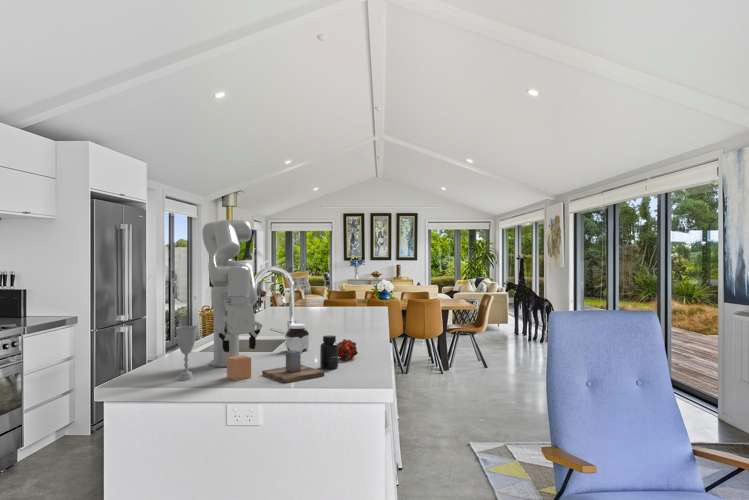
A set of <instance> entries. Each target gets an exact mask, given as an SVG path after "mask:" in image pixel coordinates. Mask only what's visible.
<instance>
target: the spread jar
mask: <svg viewBox="0 0 749 500" xmlns="http://www.w3.org/2000/svg"><path fill="white" fill-rule="evenodd" d="M308 331H309V330H307V329H306V324H305V323H291V324H289V329H288V330H287V331H286V334H285V347H286V349H287V350H288V351H293V350H296V351H300V352H301V353H304V352H306V351H307V350H308V349H309V346H310V333H309V332H308Z"/></svg>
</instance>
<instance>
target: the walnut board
mask: <svg viewBox="0 0 749 500" xmlns="http://www.w3.org/2000/svg"><path fill="white" fill-rule="evenodd" d="M261 372H262V373H261V374H263V375H262V376H264V375H265V377H267V376H268V377H267V378H269V377H270V379H272V378H273V379H272V380H275V381H278V382H281V383H283V384H289V383H293V382H300V381H304V380H309V379H316V378H321V377H322V378H323V377H325V371H324V370H320V369H316V368H313V367H310V366H307V365H303V364H301V371H300V372H294V373H290V372H287V371H286V366H284V367H283V366H282V367H278V368H277V367H276V368H270V369H265V370H264V369H263V370H262V371H261Z"/></svg>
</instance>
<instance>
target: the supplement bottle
mask: <svg viewBox="0 0 749 500" xmlns="http://www.w3.org/2000/svg"><path fill="white" fill-rule="evenodd" d="M336 342H337V338H336V335H323V337H322V343H321V344H320V348H319V349H320V352H319V353H320V355H319V356H320V357H319V358H320V359H319V360H320V361H319V368H321V369H323V370H336V369H338V367H339V357H338V343H336Z"/></svg>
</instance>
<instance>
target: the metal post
mask: <svg viewBox="0 0 749 500" xmlns="http://www.w3.org/2000/svg"><path fill="white" fill-rule="evenodd" d="M301 355H302V352H300V351H296V350H293V351H289V350H288V351H285V367H286V371H287V372H290V373H294V372H300V371H301V365H302V364H301V363H302V362H301V361H302V360H301V357H302V356H301Z"/></svg>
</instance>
